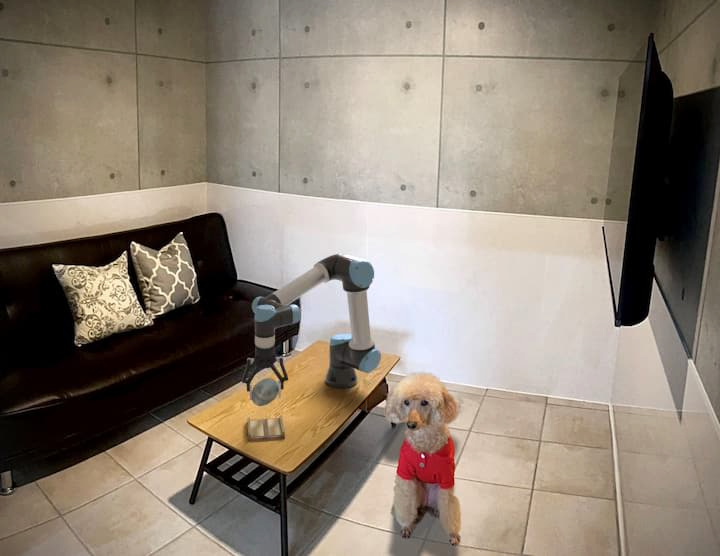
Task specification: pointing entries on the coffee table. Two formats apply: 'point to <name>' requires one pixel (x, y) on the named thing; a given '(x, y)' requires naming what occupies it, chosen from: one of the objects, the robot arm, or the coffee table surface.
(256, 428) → the shallow beige tray
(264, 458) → the coffee table surface
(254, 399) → the grey streaked ellipsoid
